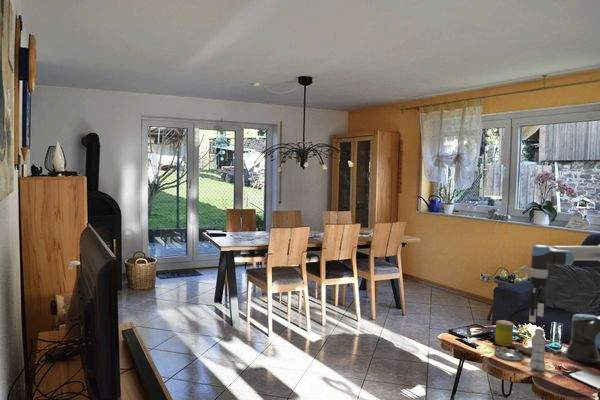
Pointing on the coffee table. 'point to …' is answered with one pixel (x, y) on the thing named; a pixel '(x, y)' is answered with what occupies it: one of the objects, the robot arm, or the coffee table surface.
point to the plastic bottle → (538, 350)
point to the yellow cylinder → (504, 333)
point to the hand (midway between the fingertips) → (536, 319)
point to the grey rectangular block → (523, 349)
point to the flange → (508, 354)
